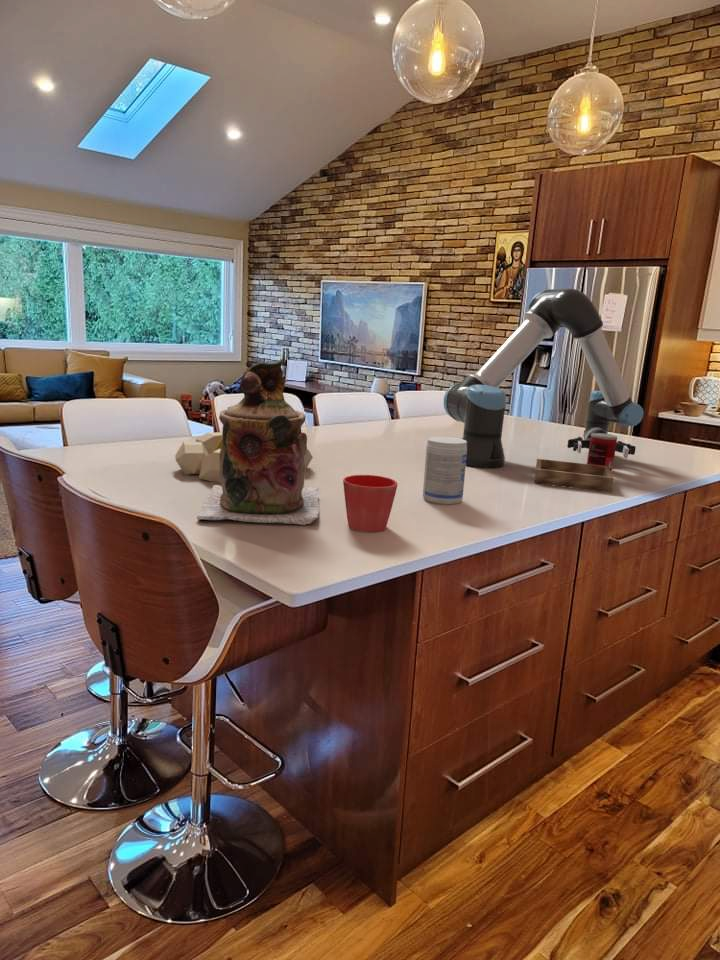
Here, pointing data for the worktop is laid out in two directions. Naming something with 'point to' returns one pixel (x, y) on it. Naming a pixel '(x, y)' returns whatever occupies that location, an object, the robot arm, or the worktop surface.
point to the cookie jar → (262, 456)
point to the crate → (574, 475)
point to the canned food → (602, 449)
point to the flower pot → (368, 501)
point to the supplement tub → (444, 470)
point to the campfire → (207, 456)
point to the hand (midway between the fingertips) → (603, 451)
